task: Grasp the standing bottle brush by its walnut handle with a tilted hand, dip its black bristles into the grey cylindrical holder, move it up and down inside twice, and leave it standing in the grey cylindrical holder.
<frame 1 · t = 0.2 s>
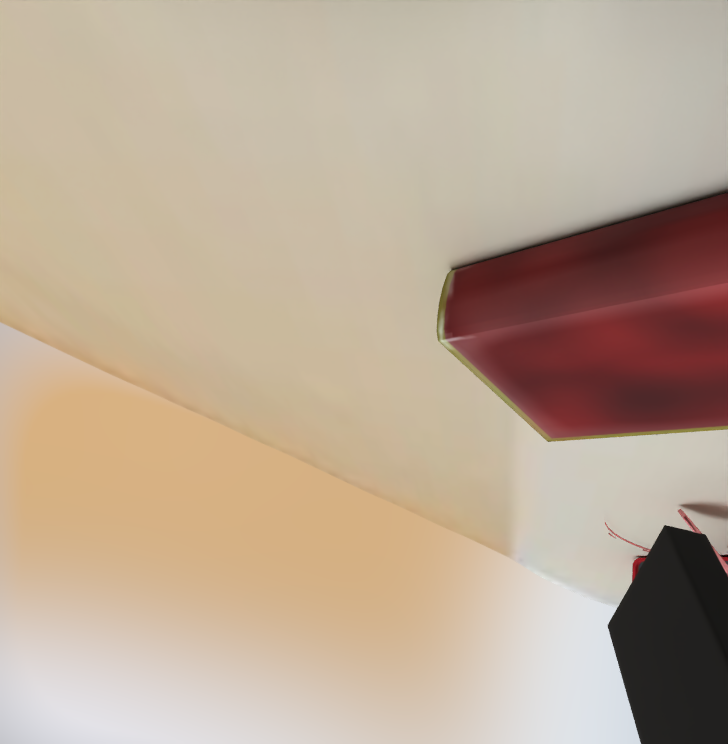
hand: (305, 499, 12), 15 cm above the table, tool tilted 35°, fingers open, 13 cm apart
hardcover book: (727, 282, 27), on the table
figurine: (692, 526, 55), on the table
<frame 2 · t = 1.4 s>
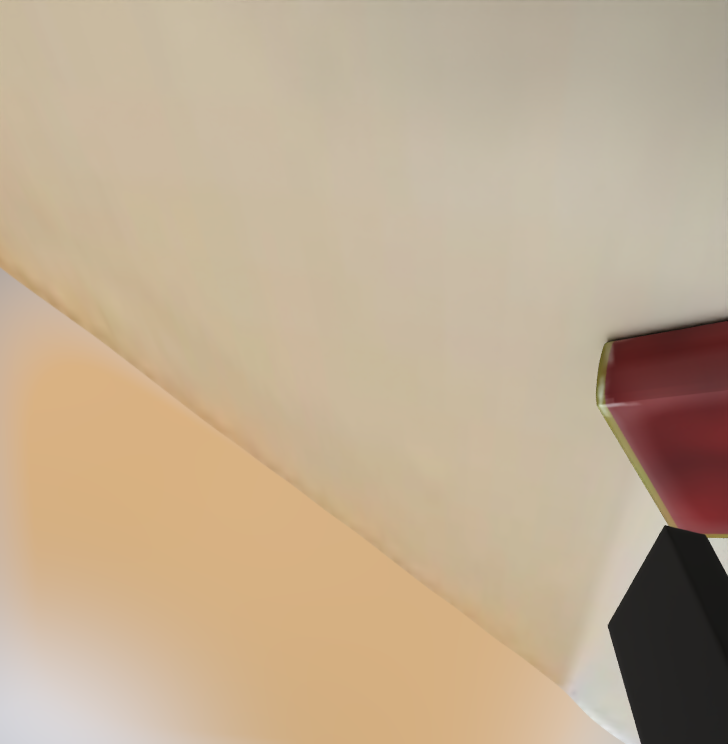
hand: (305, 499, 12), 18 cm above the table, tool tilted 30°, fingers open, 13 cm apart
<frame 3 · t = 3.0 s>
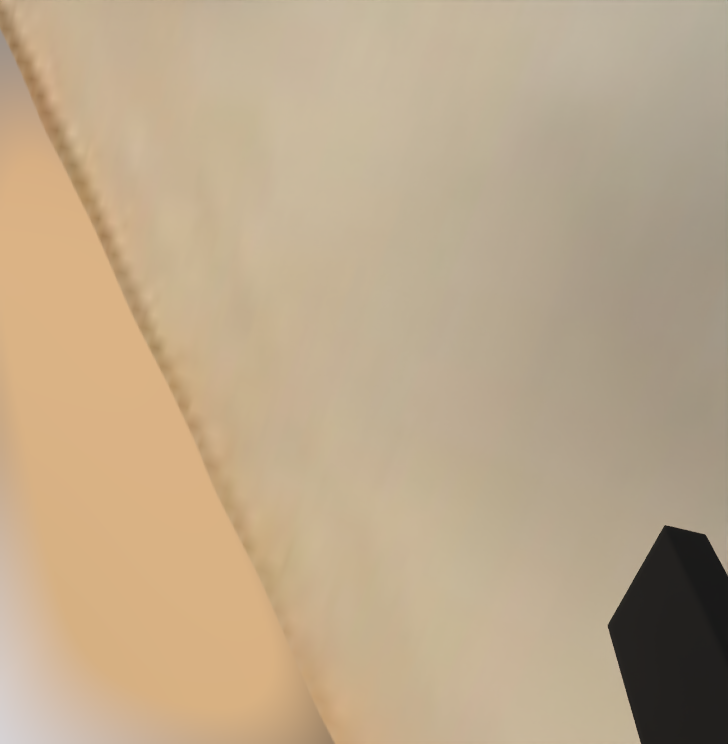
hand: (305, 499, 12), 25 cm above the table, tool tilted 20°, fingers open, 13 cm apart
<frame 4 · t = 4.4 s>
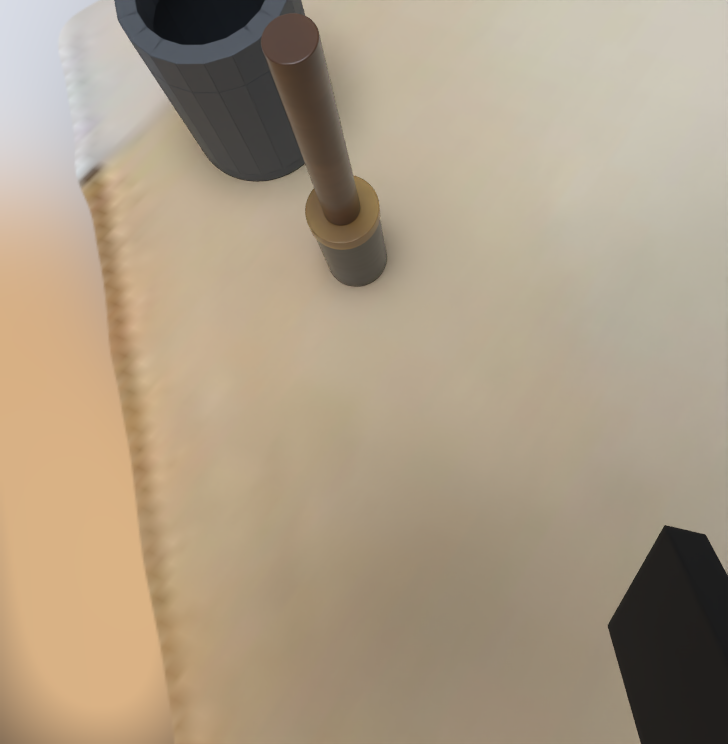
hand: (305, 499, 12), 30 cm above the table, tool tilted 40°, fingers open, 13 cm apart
grey cylindrical holder: (262, 119, 47), on the table
brush: (357, 258, 45), on the table
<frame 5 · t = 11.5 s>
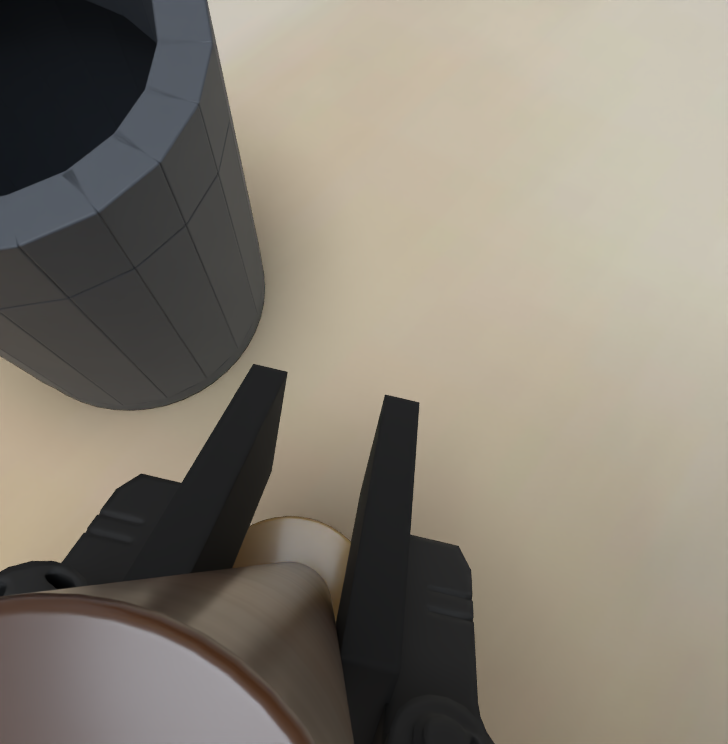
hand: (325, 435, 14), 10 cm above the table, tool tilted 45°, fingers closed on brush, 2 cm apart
grey cylindrical holder: (140, 289, 26), on the table
brush: (299, 591, 23), on the table, touching gripper
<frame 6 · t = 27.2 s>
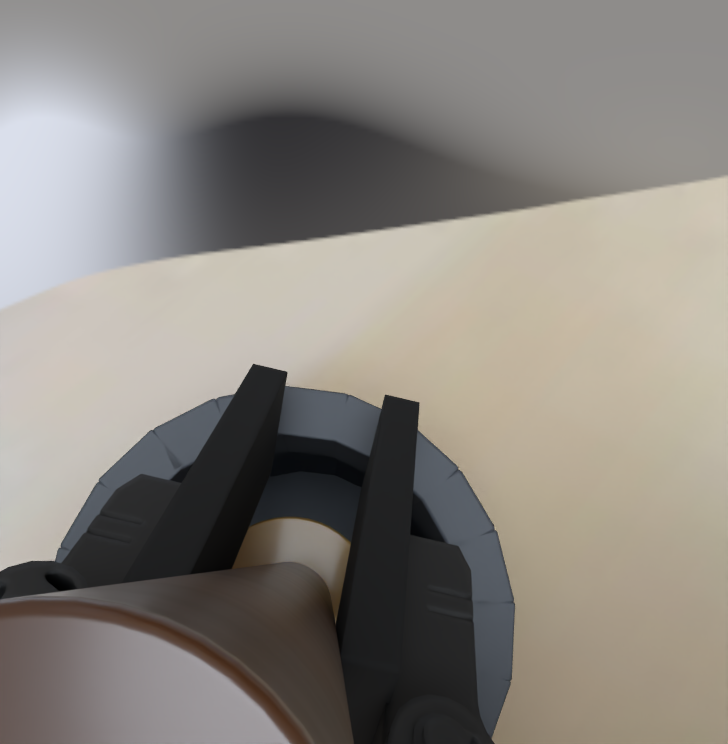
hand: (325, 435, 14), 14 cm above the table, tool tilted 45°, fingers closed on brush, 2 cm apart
grey cylindrical holder: (303, 586, 26), on the table
brush: (299, 591, 23), point 3 cm above the table, touching gripper
when the fingers open (16 cm above the table, at t = 29.5 s): brush drops 4 cm, resting on grey cylindrical holder.
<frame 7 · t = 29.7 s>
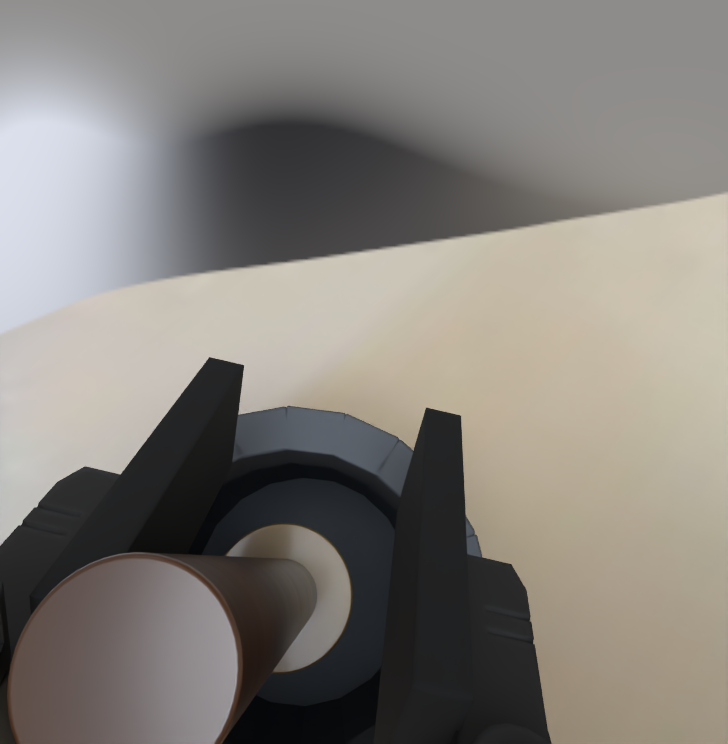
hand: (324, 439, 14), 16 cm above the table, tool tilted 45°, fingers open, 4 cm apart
grey cylindrical holder: (304, 585, 28), on the table
brush: (300, 586, 27), point 1 cm above the table, touching grey cylindrical holder, gripper
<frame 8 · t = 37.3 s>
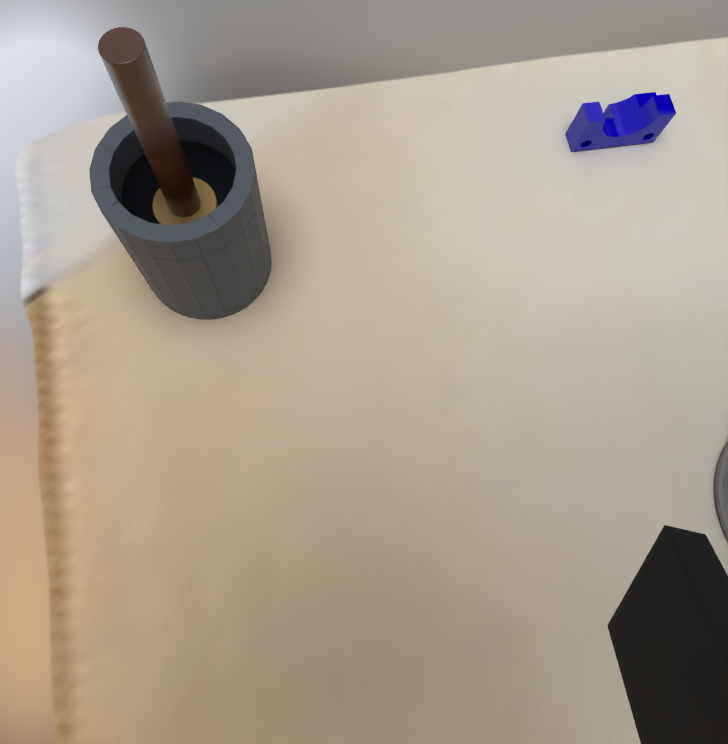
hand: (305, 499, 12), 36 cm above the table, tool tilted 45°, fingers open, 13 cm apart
grey cylindrical holder: (209, 262, 52), on the table
cable holder: (606, 132, 58), on the table
brush: (205, 256, 51), point 1 cm above the table, touching grey cylindrical holder
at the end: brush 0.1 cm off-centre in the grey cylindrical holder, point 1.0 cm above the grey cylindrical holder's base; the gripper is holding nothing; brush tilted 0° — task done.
